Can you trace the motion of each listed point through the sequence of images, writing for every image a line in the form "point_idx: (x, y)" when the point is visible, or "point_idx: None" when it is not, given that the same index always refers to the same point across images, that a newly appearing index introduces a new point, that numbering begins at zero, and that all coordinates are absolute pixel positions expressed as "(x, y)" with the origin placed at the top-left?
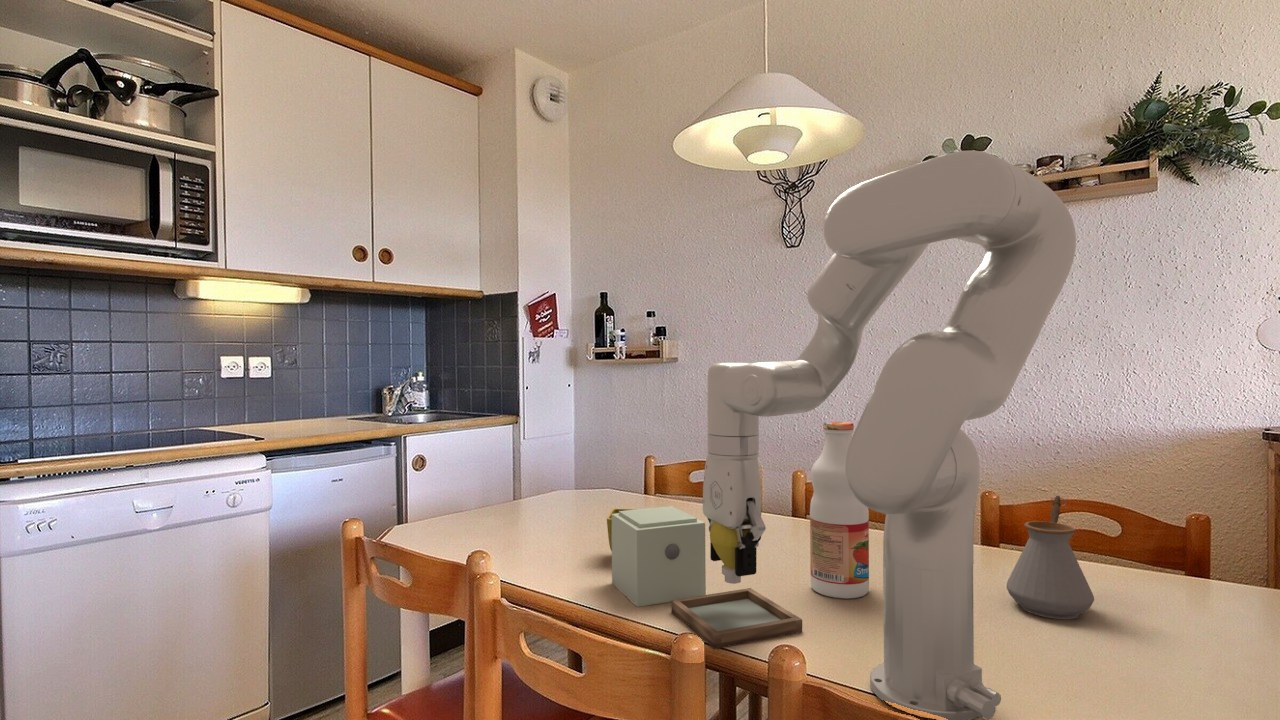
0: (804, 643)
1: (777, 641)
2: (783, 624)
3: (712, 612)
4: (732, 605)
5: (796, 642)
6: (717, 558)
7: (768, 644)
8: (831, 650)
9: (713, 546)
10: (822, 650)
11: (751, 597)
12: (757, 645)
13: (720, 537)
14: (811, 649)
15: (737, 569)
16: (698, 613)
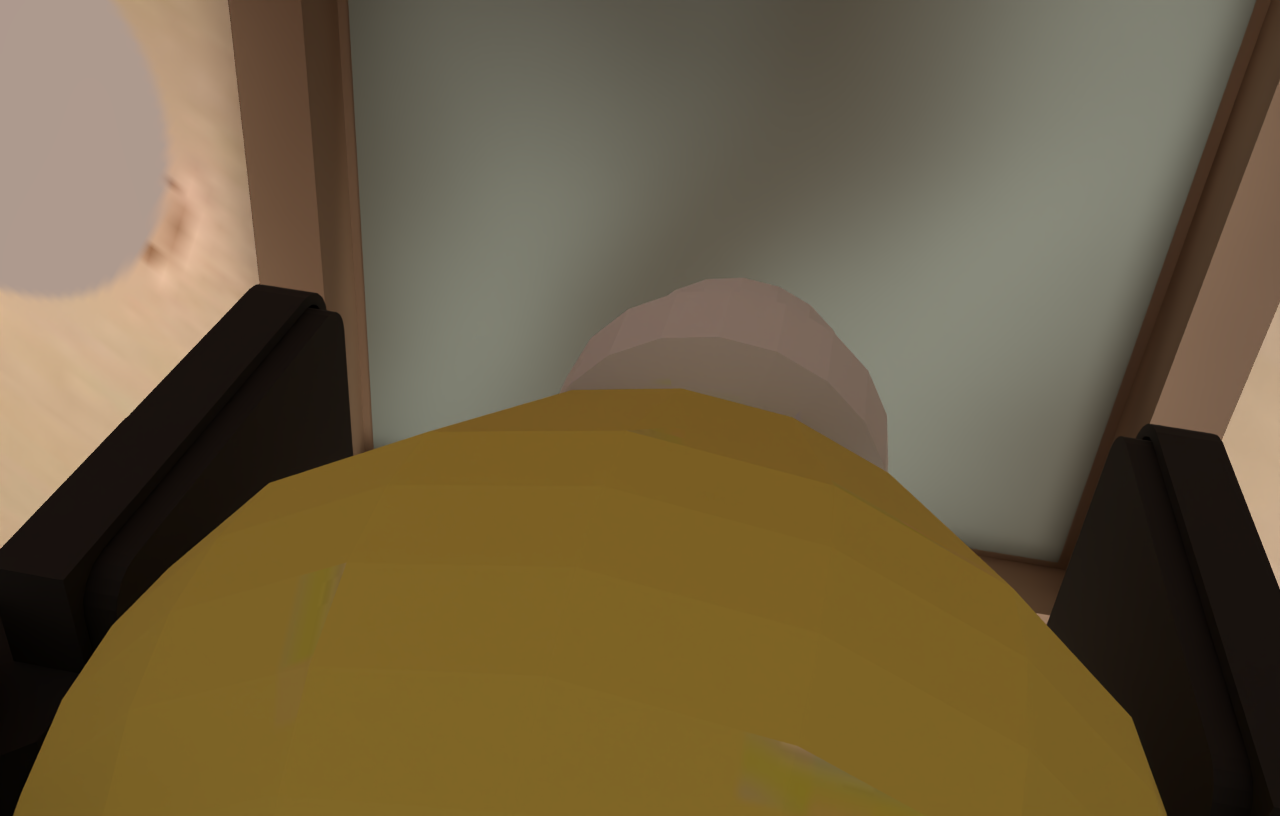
0: (150, 356)
1: (237, 215)
2: None
3: (980, 57)
4: (1006, 349)
5: (181, 322)
6: (1101, 513)
7: (204, 114)
8: (7, 420)
9: (802, 448)
10: (17, 375)
11: (1005, 577)
12: (210, 16)
13: (257, 592)
14: (46, 327)
15: (220, 337)
16: None
